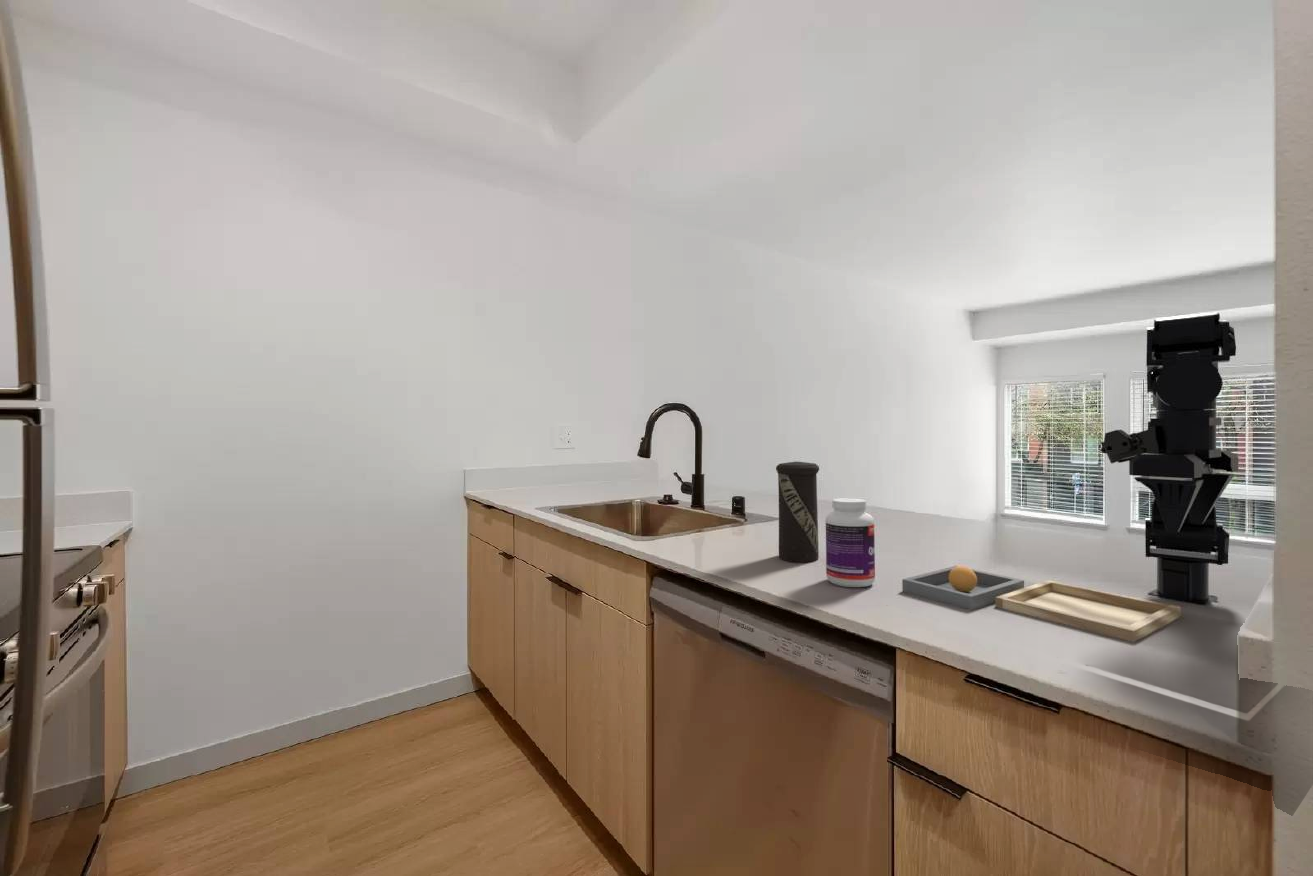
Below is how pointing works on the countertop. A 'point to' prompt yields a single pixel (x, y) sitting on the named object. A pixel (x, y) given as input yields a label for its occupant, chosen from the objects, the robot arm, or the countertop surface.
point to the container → (798, 511)
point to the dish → (1090, 609)
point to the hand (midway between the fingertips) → (1185, 527)
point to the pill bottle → (850, 544)
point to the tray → (941, 590)
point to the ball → (962, 579)
